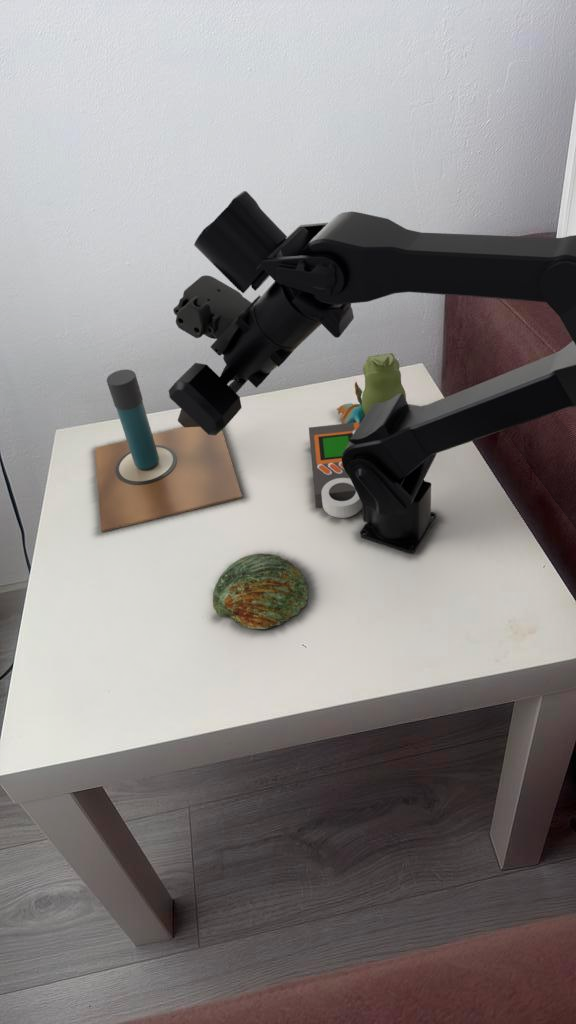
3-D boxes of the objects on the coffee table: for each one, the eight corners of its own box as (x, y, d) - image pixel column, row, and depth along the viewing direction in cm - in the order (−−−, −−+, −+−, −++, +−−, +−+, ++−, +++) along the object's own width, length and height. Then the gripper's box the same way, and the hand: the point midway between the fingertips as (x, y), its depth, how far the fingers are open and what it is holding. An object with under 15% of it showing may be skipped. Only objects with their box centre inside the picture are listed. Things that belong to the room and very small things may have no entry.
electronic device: (315, 507, 82) (308, 423, 92) (317, 525, 84) (310, 441, 94) (376, 500, 81) (361, 417, 92) (377, 519, 83) (362, 435, 94)
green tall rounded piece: (366, 438, 94) (363, 370, 87) (359, 415, 98) (355, 348, 91) (409, 432, 94) (409, 363, 87) (401, 408, 98) (400, 341, 91)
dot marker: (159, 470, 93) (133, 383, 84) (133, 474, 93) (104, 386, 84) (162, 454, 96) (136, 367, 87) (136, 457, 96) (108, 371, 87)
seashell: (318, 578, 71) (222, 617, 69) (323, 607, 74) (231, 646, 72) (280, 522, 79) (192, 556, 77) (286, 551, 81) (201, 584, 79)
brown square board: (219, 420, 101) (218, 418, 100) (242, 497, 88) (241, 494, 88) (95, 449, 99) (94, 446, 99) (101, 532, 86) (100, 529, 86)
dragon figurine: (397, 438, 91) (388, 384, 94) (343, 432, 89) (335, 377, 92) (375, 463, 97) (367, 412, 100) (323, 458, 94) (317, 406, 98)
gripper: (264, 219, 74) (194, 307, 86) (163, 305, 62) (97, 393, 74) (341, 300, 76) (262, 375, 88) (257, 397, 65) (179, 469, 76)
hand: (203, 399), depth 82 cm, fingers open, 9 cm apart
